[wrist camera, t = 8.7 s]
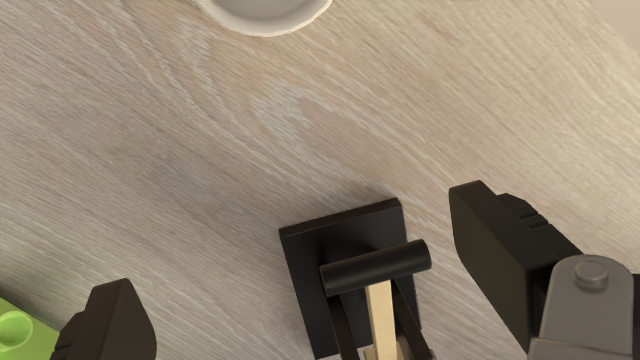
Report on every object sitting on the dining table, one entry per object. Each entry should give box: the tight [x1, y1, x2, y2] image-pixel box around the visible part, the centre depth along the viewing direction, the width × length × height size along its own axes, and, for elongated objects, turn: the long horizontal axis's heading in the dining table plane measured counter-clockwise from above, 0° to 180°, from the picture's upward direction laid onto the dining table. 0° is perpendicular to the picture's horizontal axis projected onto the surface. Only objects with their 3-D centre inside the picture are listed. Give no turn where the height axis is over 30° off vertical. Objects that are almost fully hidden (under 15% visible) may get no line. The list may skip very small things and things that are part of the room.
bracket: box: [279, 198, 437, 360], centre depth 36 cm, size 12×9×12 cm
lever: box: [319, 239, 432, 360], centre depth 29 cm, size 13×5×2 cm, turn 12°
